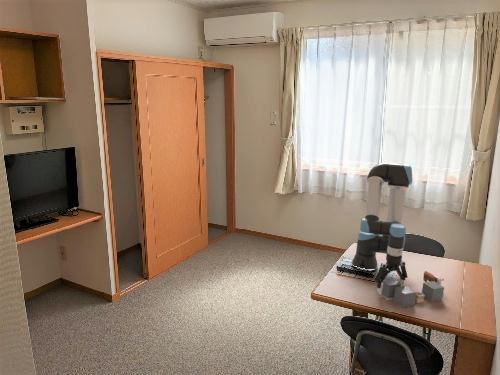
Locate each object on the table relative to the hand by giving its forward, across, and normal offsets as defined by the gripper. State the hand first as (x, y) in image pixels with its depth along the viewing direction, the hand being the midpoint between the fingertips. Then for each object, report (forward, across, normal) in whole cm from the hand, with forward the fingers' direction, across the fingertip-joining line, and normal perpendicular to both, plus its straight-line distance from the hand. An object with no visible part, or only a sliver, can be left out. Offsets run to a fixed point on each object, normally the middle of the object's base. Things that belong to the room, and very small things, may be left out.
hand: (389, 291), depth 203 cm
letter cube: (+2, +11, -9) cm, 14 cm away
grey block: (+2, +2, -9) cm, 9 cm away
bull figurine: (+2, +29, 0) cm, 29 cm away
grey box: (+1, 0, 0) cm, 1 cm away
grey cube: (+2, +20, -9) cm, 22 cm away
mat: (+2, 0, 0) cm, 2 cm away
